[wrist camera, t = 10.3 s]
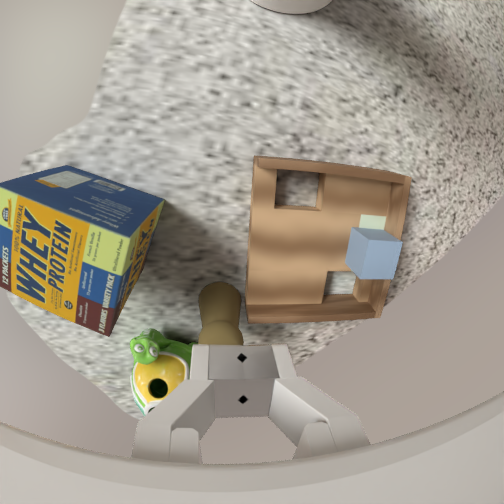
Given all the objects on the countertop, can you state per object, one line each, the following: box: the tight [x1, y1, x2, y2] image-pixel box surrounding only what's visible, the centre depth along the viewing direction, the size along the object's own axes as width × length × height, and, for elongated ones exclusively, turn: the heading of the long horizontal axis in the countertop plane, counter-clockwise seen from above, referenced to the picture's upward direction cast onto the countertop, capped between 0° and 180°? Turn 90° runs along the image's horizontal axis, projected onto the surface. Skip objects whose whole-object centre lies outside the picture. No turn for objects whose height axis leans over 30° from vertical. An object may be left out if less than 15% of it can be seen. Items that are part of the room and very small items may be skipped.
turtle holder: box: [130, 329, 198, 416], centre depth 39 cm, size 12×18×12 cm
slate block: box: [345, 227, 403, 279], centre depth 35 cm, size 5×5×5 cm
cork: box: [198, 282, 244, 345], centre depth 36 cm, size 6×6×11 cm
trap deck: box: [245, 156, 411, 323], centre depth 37 cm, size 20×19×6 cm
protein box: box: [0, 165, 165, 337], centre depth 28 cm, size 10×15×16 cm
